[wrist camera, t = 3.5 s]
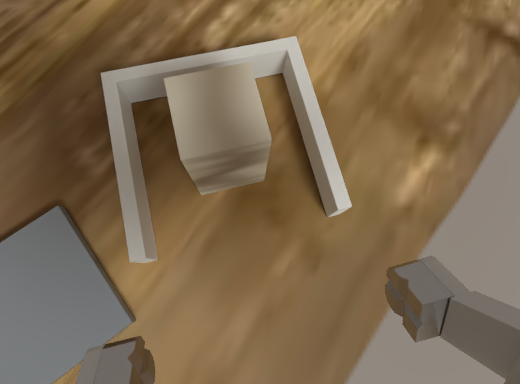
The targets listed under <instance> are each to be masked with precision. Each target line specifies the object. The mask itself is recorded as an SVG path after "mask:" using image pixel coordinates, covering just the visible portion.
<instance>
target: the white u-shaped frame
mask: <svg viewBox="0 0 520 384" xmlns="http://www.w3.org/2000/svg"><path fill="white" fill-rule="evenodd" d="M245 62H250V64H251V67H252V71H253V74H254V78H260V77H265V76H270V75H275V74H280V73H283V76H284V79H285V82H286V85H287V89H288V92H289V95H290V98H291V102H292V105H293V108H294V111H295V115H296V118H297V121H298V124H299V128H300V131H301V134H302V137H303V141H304V144H305V147H306V150H307V154H308V157H309V160H310V163H311V167H312V170H313V173H314V176H315V180H316V183H317V186H318V189H319V193H320V196H321V199H322V202H323V206H324V209H325V212H326V215H327V217H330V216H334V215H338V214H340V213H342V212H344V211H345V210H347V209H349V208H350V207H352V205H351V202H350V199H349V196H348V193H347V190H346V187H345V184H344V181H343V178H342V175H341V172H340V169H339V165H338V162H337V159H336V156H335V153H334V150H333V147H332V144H331V141H330V138H329V135H328V132H327V129H326V126H325V123H324V120H323V117H322V114H321V111H320V108H319V105H318V102H317V99H316V96H315V93H314V90H313V87H312V84H311V80H310V77H309V74H308V71H307V68H306V65H305V62H304V59H303V56H302V53H301V50H300V47H299V44H298V41H297V38H296V36H294V37H289V38H283V39H278V40H273V41H267V42H262V43H257V44H252V45H246V46H241V47H236V48H230V49H225V50H220V51H214V52H209V53H204V54H198V55H193V56H188V57H182V58H177V59H172V60H166V61H161V62H156V63H150V64H145V65H140V66H134V67H129V68H124V69H118V70H113V71H108V72H102V73H101V78H102V85H103V91H104V98H105V104H106V111H107V117H108V124H109V130H110V137H111V143H112V150H113V156H114V163H115V169H116V176H117V182H118V189H119V195H120V201H121V208H122V214H123V221H124V227H125V234H126V240H127V247H128V253H129V260H130V262H136V263H147V262H151V261H155V260H158V254H157V249H156V243H155V237H154V232H153V226H152V220H151V214H150V209H149V203H148V197H147V192H146V186H145V180H144V175H143V169H142V163H141V158H140V152H139V146H138V140H137V135H136V129H135V123H134V118H133V112H132V106H131V103H134V102H140V101H145V100H150V99H155V98H160V97H165V96H167V93H166V88H165V83H164V78H167V77H173V76H178V75H183V74H188V73H193V72H198V71H204V70H209V69H214V68H219V67H224V66H229V65H234V64H240V63H245Z"/></svg>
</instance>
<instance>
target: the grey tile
mask: <svg viewBox="0 0 520 384" xmlns="http://www.w3.org/2000/svg"><path fill="white" fill-rule="evenodd" d="M135 321H136V320H135V318H134V317H133V315H132V313H131V312H130V310H129V309H128V307H127V306H126V304H125V302H124V301H123V299H122V298H121V296H120V295H119V293H118V291H117V290H116V288H115V287H114V285H113V284H112V282H111V280H110V279H109V277H108V276H107V274H106V273H105V271H104V269H103V268H102V266H101V265H100V263H99V262H98V260H97V258H96V257H95V255H94V254H93V252H92V251H91V249H90V247H89V246H88V244H87V243H86V241H85V240H84V238H83V236H82V235H81V233H80V232H79V230H78V229H77V227H76V225H75V224H74V222H73V221H72V219H71V218H70V216H69V214H68V213H67V211H66V210H65V208H64V207H61V206H56V207H55V208H53V209H52V210H50V211H48V212H47V213H45V214H44V215H42V216H41V217H39V218H38V219H36V220H34V221H33V222H31V223H30V224H28V225H27V226H25V227H24V228H22V229H20V230H19V231H17V232H16V233H14V234H13V235H11V236H10V237H8V238H7V239H5V240H3V241H2V242H0V384H53V383H54V382H55V381H57V380H58V379H59V378H61V377H62V376H63V375H65V374H66V373H67V372H69V371H70V370H71V369H73V368H74V367H75V366H76V365H78V364H79V363H80V362H82V361H83V357H84V355H85V353H86V351H87V350H88V349H90V348H93V347H97V346H101V345H104V344H106V343H107V342H108V341H110V340H111V339H112V338H114V337H115V336H116V335H118V334H119V333H120V332H122V331H123V330H124V329H125V328H127V327H128V326H129V325H131V324H132V323H133V322H135Z"/></svg>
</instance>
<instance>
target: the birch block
mask: <svg viewBox="0 0 520 384" xmlns="http://www.w3.org/2000/svg"><path fill="white" fill-rule="evenodd" d="M164 83H165V88H166V93H167V97H168V102H169V107H170V112H171V117H172V122H173V126H174V131H175V136H176V141H177V146H178V151H179V156H180V160H181V162H182V163H183V165H184V167H185V169H186V170H187V172H188V174H189V175H190V177H191V179H192V180H193V182H194V184H195V185H196V187H197V189H198V190H199V192H200V194H201V195H205V194H209V193H214V192H218V191H222V190H227V189H231V188H235V187H239V186H244V185H248V184H252V183H257V182H261V181H264V178H265V173H266V168H267V163H268V158H269V153H270V148H271V143H272V138H271V134H270V131H269V127H268V124H267V120H266V117H265V113H264V110H263V106H262V102H261V99H260V95H259V92H258V88H257V85H256V81H255V78H254V74H253V71H252V67H251V64H250V62H245V63H240V64H234V65H229V66H224V67H219V68H214V69H209V70H204V71H198V72H193V73H188V74H183V75H178V76H173V77H167V78H164Z"/></svg>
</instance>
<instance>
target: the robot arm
mask: <svg viewBox="0 0 520 384" xmlns="http://www.w3.org/2000/svg"><path fill="white" fill-rule="evenodd" d="M386 276H387V277H388V279H389V281H388V282H387V284H386V285H385V294H386V298H387V301H388V303H389V305H390V307H391V308H392V310H393V311H394V312H395V313H396V314H398V315H400V316H402V317H403V326H404V327H405V328H406V330H407V331H408V333H409V334H410V335H411V337H412V338H413V340H414V341H415V342H419V341H422V340H426V339H429V338H433V337H437V336H441V338H442V339H444V340H446V341H447V342H449V343H450V344H452V345H453V346H455V347H456V348H458V349H459V350H461V351H463V352H464V353H466V354H468V355H469V356H470V357H472V358H473V359H475V360H477V361H478V362H480V363H481V364H483V365H484V366H486V367H487V368H489V369H490V370H492V371H494V372H495V373H497V374H498V375H500V376H501V377H503V378H505V379H506V381H505V383H504V384H520V310H519V309H517V308H515V307H512V306H510V305H507V304H505V303H503V302H500V301H498V300H495V299H493V298H491V297H488V296H486V295H483V294H481V293H479V292H476V291H473V292H470V291H469V290H468V289H467V288H466V287H465V286H464V285H463V284H462V283H461V282H460V281H459V280H458V279H457V278H456V277H454V275H453V274H452V273H451V272H450V271H448V270H447V269H446V268H445V267H444V266H443V265H442V264H441V263H440V262H439V261H438V260H437V259H436V258H435V257H433V256H429V257H426V258H422V259H418V260H413V261H410V262H406V263H403V264H399V265H396V266H392V267H389V268H388V269H387V274H386ZM144 345H145V342H144V340H143V338H142V337H141V336H137V337H133V338H129V339H125V340H121V341H117V342H113V343H109V344H105V345H101V346H97V347H93V348H90V349H88V350H87V351H86V353H85V355H84V357H83V361H82V364H81V367H80V371H79V374H78V378H77V381H76V384H154V382H155V365H154V360H153V356H152V354H151V352H150V350H147V349H145V348H144Z"/></svg>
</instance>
